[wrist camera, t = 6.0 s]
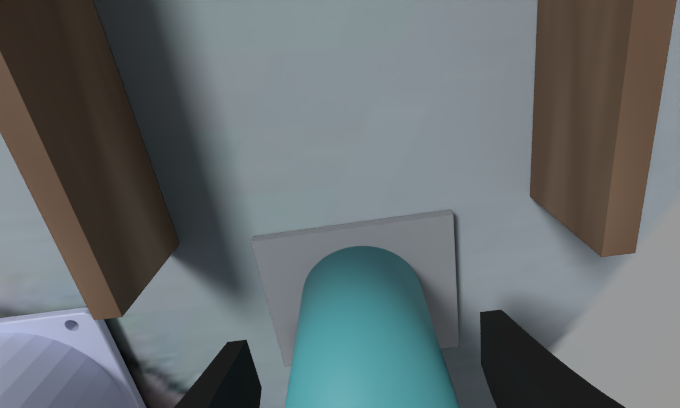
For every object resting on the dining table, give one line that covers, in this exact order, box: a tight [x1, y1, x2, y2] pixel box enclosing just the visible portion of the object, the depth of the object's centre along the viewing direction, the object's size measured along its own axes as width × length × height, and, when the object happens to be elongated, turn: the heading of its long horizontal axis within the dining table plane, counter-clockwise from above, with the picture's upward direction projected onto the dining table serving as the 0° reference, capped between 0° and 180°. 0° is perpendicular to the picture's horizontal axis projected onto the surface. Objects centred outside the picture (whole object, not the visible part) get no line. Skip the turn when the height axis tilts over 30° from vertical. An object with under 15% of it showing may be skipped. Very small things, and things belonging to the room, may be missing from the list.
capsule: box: [285, 246, 459, 408], centre depth 12 cm, size 4×4×6 cm
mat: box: [251, 210, 459, 367], centre depth 15 cm, size 7×6×1 cm
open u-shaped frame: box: [0, 0, 677, 320], centre depth 9 cm, size 14×13×4 cm
